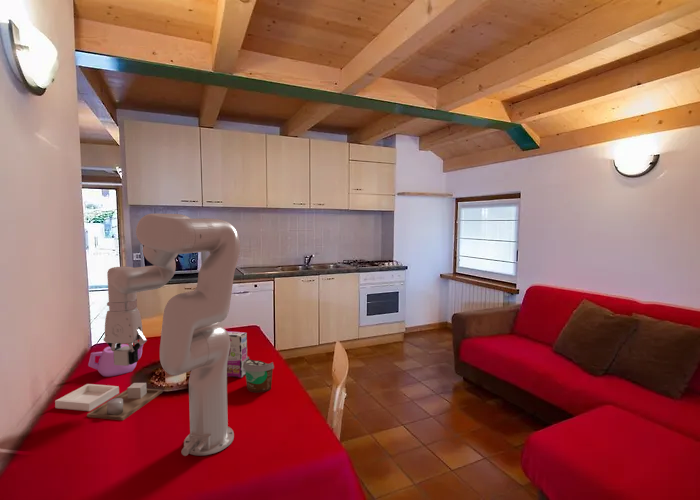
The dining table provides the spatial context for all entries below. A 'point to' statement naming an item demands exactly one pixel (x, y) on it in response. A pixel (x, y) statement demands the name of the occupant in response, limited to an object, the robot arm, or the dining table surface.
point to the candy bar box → (237, 354)
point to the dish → (87, 397)
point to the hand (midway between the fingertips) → (126, 361)
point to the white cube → (137, 390)
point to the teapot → (110, 362)
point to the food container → (258, 375)
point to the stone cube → (122, 356)
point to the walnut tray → (125, 405)
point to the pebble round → (115, 406)
